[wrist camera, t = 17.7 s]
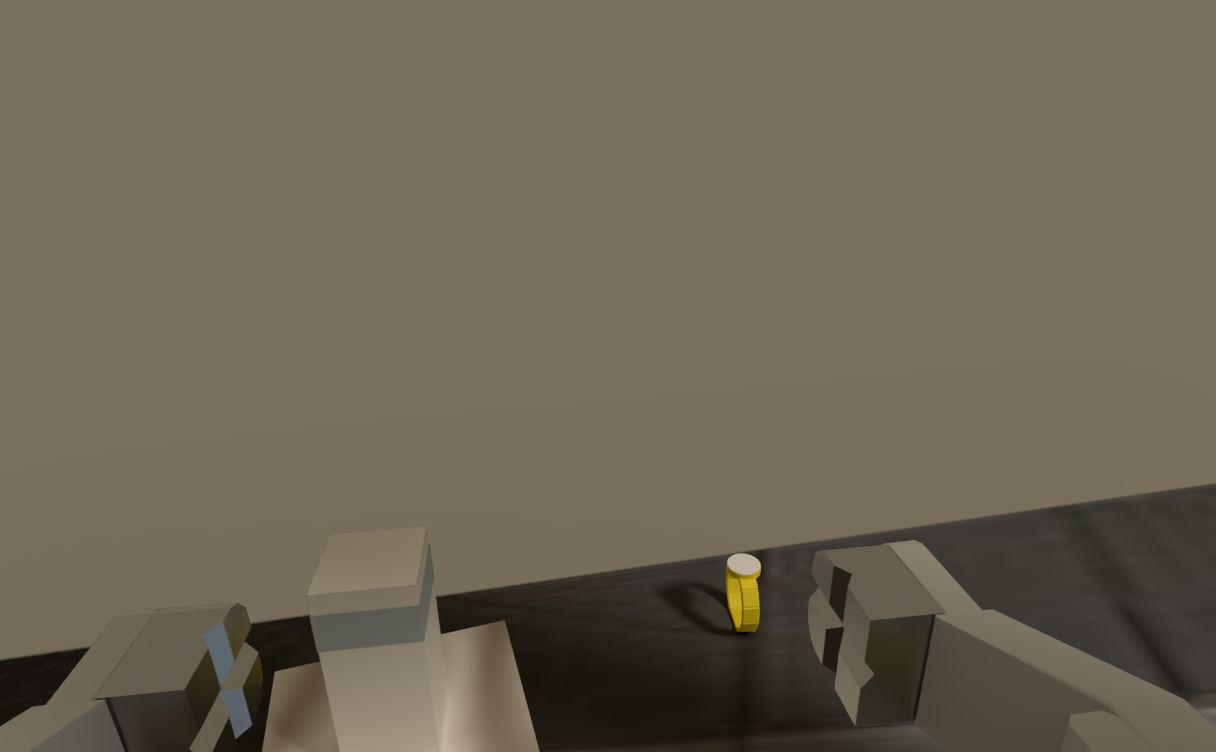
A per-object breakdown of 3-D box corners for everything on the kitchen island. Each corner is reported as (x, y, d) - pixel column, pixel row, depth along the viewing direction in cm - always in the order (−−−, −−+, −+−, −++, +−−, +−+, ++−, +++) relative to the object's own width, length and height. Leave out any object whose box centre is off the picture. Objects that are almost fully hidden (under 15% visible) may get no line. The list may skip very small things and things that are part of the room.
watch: (765, 644, 59) (771, 589, 56) (731, 647, 58) (736, 591, 56) (746, 593, 64) (751, 540, 61) (716, 595, 64) (720, 542, 61)
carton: (449, 692, 47) (427, 525, 42) (442, 765, 42) (416, 585, 37) (362, 702, 47) (329, 534, 42) (344, 778, 41) (304, 595, 37)
